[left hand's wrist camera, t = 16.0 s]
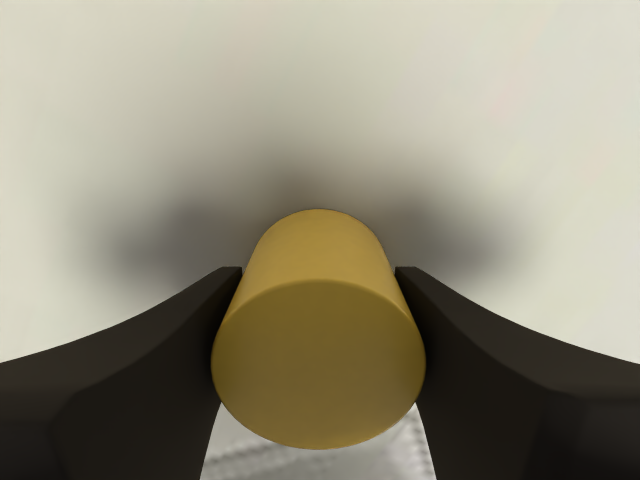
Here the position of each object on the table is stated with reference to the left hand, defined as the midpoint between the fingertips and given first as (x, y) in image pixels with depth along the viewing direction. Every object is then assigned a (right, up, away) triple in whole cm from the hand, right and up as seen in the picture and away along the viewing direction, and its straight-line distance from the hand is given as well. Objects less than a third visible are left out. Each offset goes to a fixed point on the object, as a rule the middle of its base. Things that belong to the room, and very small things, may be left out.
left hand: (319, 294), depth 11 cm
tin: (0, +1, +1) cm, 1 cm away
